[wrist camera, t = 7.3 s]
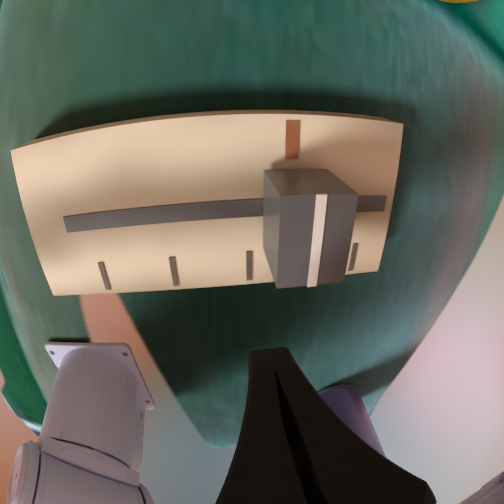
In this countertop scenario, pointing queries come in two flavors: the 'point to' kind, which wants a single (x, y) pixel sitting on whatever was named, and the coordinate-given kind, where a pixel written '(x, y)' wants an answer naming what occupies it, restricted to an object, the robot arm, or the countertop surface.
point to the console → (192, 195)
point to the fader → (307, 226)
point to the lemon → (458, 1)
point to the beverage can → (351, 412)
